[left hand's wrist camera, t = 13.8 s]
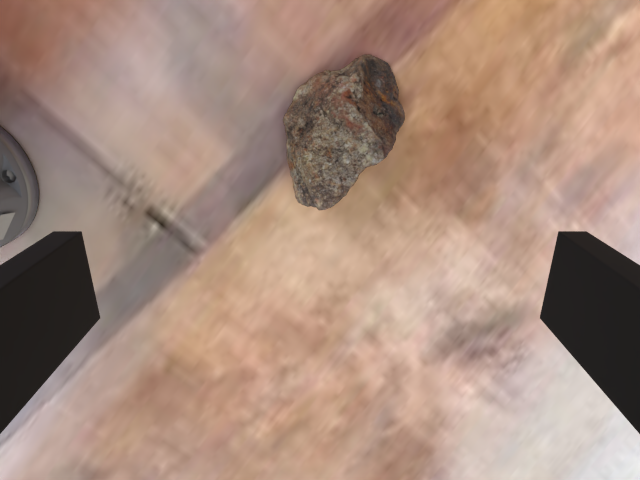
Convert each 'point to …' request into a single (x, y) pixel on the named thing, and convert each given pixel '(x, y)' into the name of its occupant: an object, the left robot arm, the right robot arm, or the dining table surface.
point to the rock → (340, 129)
